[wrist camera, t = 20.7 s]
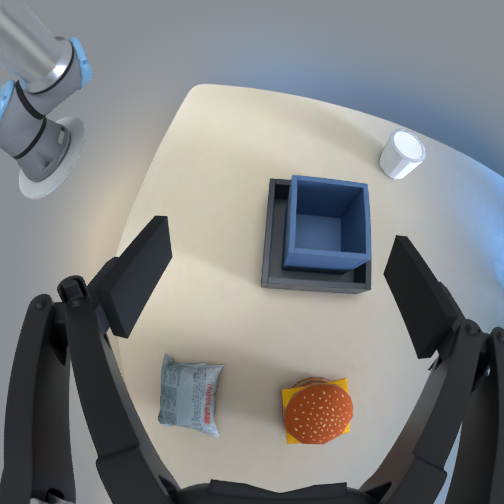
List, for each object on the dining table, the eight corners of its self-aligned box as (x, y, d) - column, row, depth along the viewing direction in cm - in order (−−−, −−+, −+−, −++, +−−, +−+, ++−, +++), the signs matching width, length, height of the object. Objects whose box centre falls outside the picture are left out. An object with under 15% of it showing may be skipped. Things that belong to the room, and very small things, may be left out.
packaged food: (226, 361, 36) (221, 367, 31) (220, 433, 34) (214, 446, 29) (169, 351, 37) (156, 356, 32) (165, 421, 34) (153, 432, 29)
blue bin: (281, 270, 38) (288, 252, 28) (285, 210, 40) (292, 174, 30) (343, 275, 38) (371, 259, 27) (343, 216, 40) (367, 183, 29)
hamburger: (285, 437, 33) (289, 457, 27) (277, 381, 35) (280, 393, 29) (346, 424, 33) (359, 441, 27) (341, 368, 35) (355, 377, 29)
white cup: (409, 186, 41) (428, 168, 35) (376, 176, 42) (391, 155, 35) (407, 156, 43) (423, 135, 36) (376, 145, 43) (389, 123, 37)
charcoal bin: (261, 287, 39) (261, 282, 33) (269, 195, 42) (269, 178, 36) (356, 293, 38) (371, 289, 32) (356, 204, 41) (368, 189, 35)
